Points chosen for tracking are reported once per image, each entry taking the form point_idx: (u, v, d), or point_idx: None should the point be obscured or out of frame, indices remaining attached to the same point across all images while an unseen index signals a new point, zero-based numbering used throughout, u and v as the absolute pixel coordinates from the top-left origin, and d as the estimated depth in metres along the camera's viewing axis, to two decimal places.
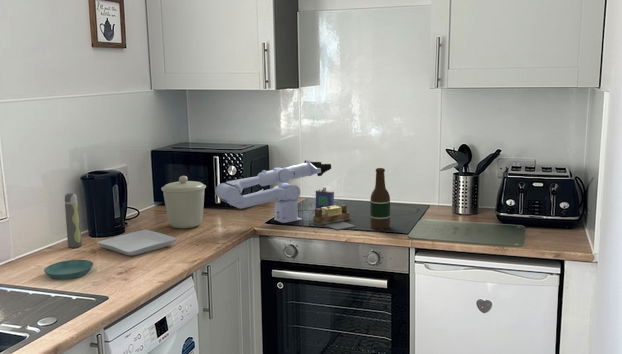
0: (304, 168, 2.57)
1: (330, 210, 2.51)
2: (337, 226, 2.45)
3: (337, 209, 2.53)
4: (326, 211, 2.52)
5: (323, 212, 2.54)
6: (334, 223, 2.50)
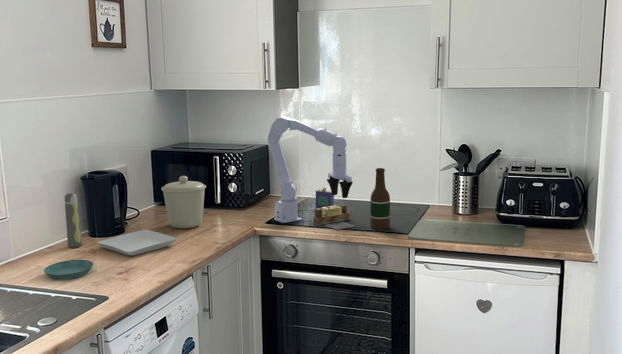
0: (345, 167, 2.54)
1: (330, 210, 2.51)
2: (337, 226, 2.45)
3: (337, 209, 2.53)
4: (326, 211, 2.52)
5: (323, 212, 2.54)
6: (334, 223, 2.50)
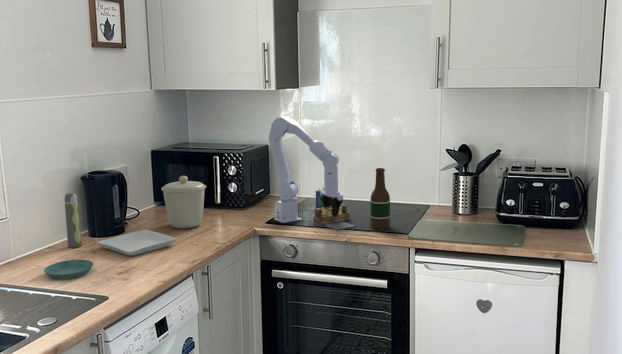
0: (337, 185, 2.51)
1: (330, 210, 2.51)
2: (337, 226, 2.45)
3: None
4: (326, 211, 2.52)
5: (323, 212, 2.54)
6: (334, 223, 2.50)
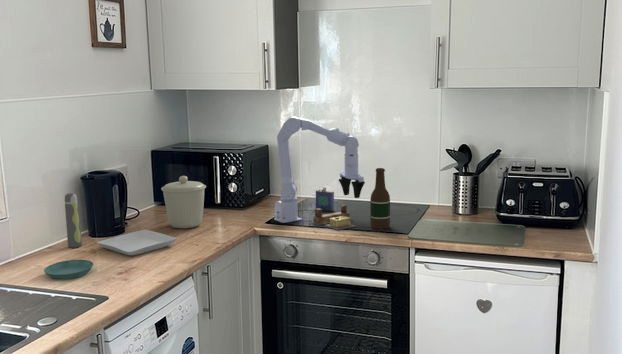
0: (357, 167, 2.53)
1: (339, 221, 2.43)
2: None
3: (346, 220, 2.45)
4: (334, 222, 2.44)
5: (331, 223, 2.46)
6: None
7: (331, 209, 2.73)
